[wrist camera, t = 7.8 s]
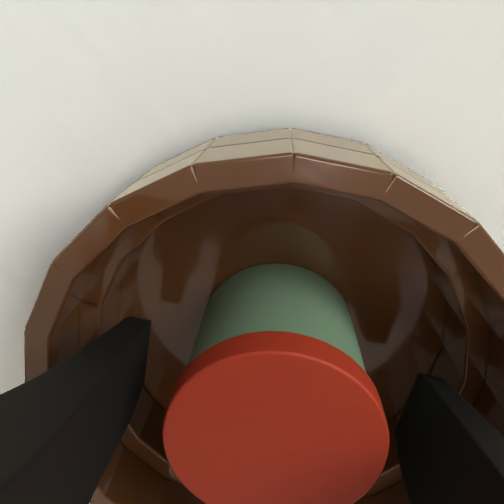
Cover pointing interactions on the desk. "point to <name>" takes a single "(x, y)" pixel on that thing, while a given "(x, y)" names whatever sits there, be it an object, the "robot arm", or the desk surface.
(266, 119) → the desk surface
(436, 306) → the bowl
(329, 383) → the container
